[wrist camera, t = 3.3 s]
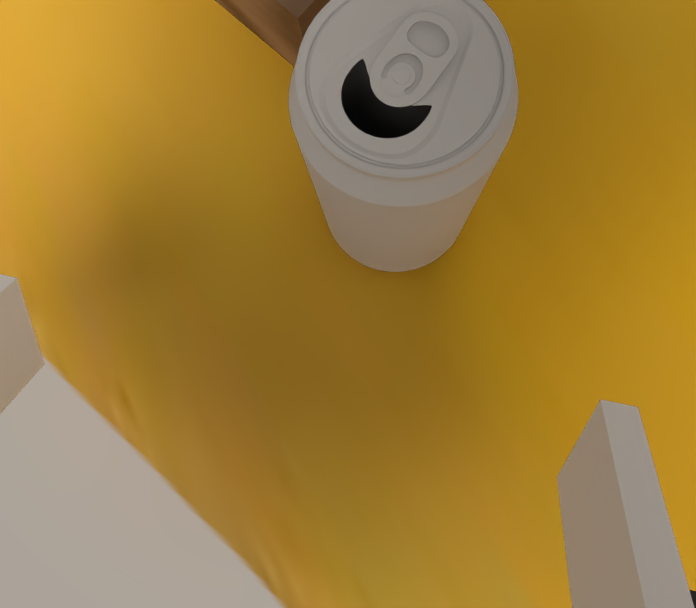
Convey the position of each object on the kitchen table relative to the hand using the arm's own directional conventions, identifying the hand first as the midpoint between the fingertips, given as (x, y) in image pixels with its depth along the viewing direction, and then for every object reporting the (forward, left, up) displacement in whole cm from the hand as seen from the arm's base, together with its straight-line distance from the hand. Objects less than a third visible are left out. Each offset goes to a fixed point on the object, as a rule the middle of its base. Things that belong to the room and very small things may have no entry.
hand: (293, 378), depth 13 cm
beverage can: (+3, -8, -13) cm, 15 cm away
